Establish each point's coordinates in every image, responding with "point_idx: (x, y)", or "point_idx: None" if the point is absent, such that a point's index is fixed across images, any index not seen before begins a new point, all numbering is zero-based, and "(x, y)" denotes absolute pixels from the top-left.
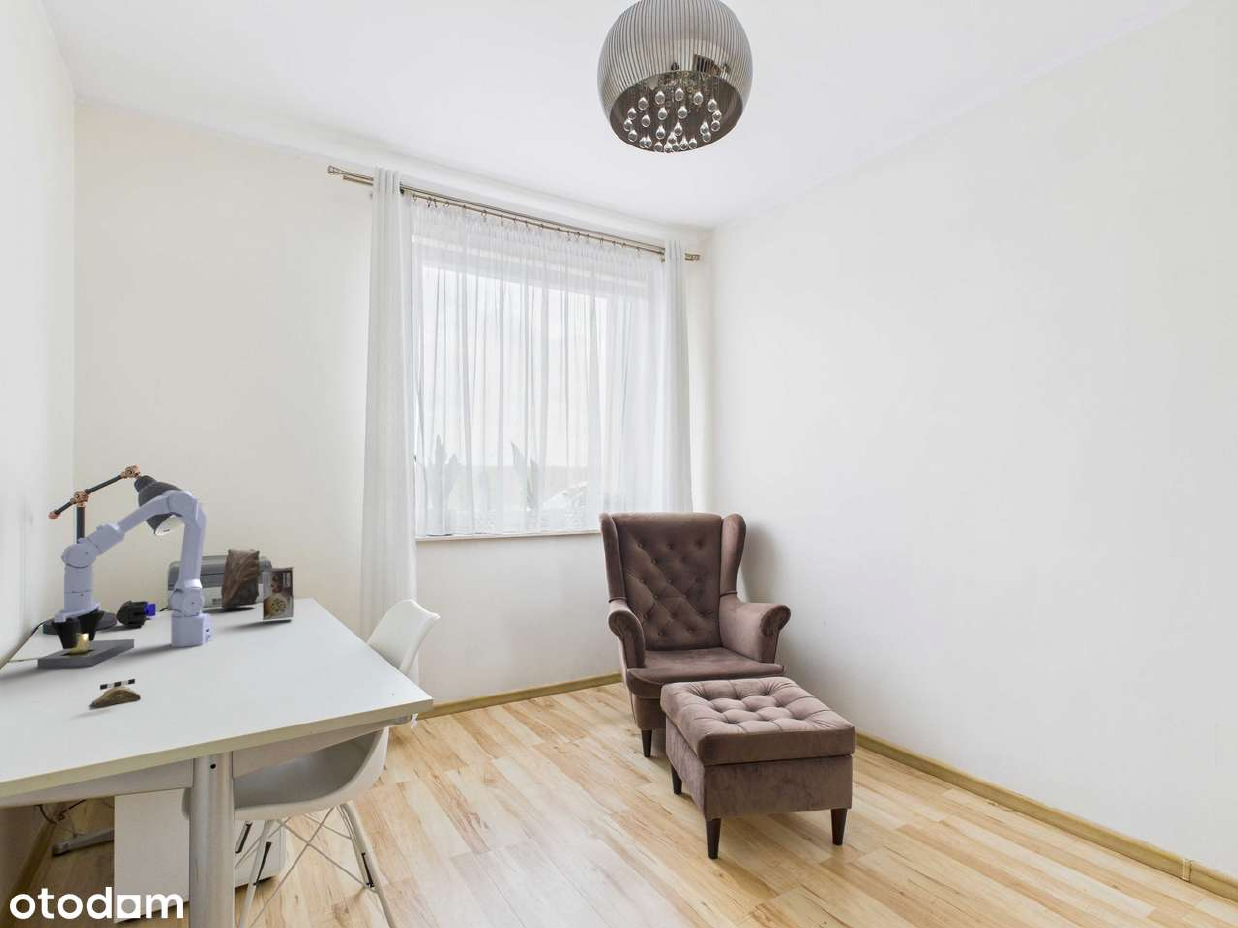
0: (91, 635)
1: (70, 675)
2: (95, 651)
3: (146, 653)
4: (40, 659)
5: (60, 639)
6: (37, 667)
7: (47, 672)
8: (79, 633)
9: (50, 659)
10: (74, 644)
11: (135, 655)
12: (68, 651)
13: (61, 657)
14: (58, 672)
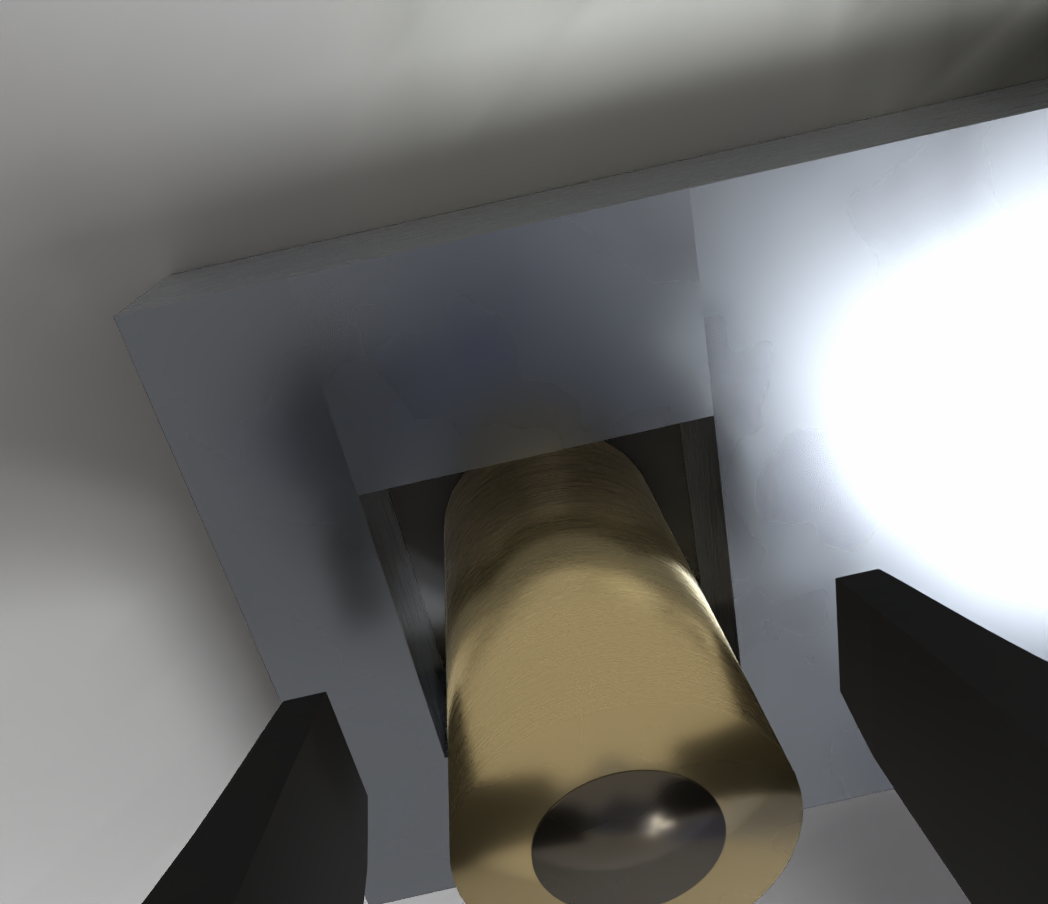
0: (889, 752)
1: (58, 865)
2: None
3: (868, 894)
4: (135, 363)
5: (194, 846)
6: (161, 281)
7: (75, 558)
8: (741, 775)
9: (196, 500)
10: (363, 856)
11: (803, 861)
12: (466, 574)
13: (290, 599)
14: (112, 675)
